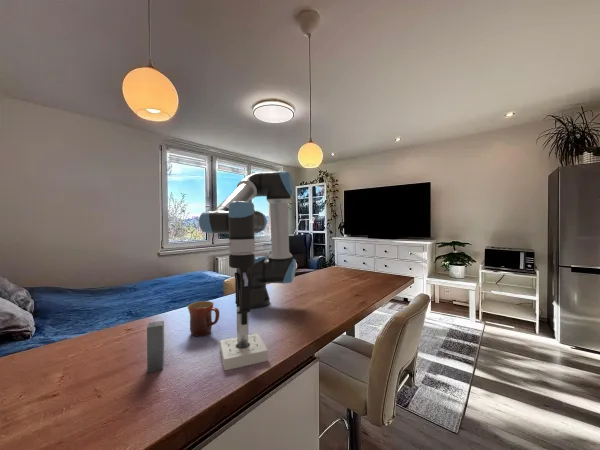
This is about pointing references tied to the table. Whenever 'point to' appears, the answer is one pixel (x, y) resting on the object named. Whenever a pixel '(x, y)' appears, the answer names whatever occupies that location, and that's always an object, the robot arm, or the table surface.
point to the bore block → (243, 352)
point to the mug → (202, 317)
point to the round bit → (241, 340)
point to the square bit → (155, 346)
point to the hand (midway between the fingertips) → (242, 332)
